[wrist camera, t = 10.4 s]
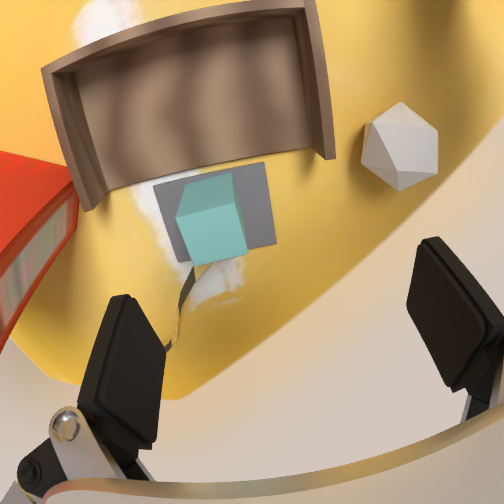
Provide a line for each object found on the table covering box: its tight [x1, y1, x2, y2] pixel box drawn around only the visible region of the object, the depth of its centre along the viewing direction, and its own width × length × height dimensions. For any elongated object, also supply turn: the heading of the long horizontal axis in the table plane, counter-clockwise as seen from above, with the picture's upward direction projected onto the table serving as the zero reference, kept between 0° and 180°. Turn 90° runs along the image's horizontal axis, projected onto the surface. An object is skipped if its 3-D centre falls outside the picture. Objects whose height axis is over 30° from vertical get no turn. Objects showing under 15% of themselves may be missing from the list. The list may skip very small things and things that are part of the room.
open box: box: [41, 0, 336, 212], centre depth 24 cm, size 24×15×6 cm, turn 99°
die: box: [361, 101, 438, 192], centre depth 27 cm, size 8×9×10 cm
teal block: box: [175, 172, 249, 266], centre depth 29 cm, size 5×5×8 cm
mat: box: [153, 162, 277, 262], centre depth 34 cm, size 12×10×1 cm
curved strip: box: [164, 262, 213, 352], centre depth 41 cm, size 6×39×4 cm, turn 137°
